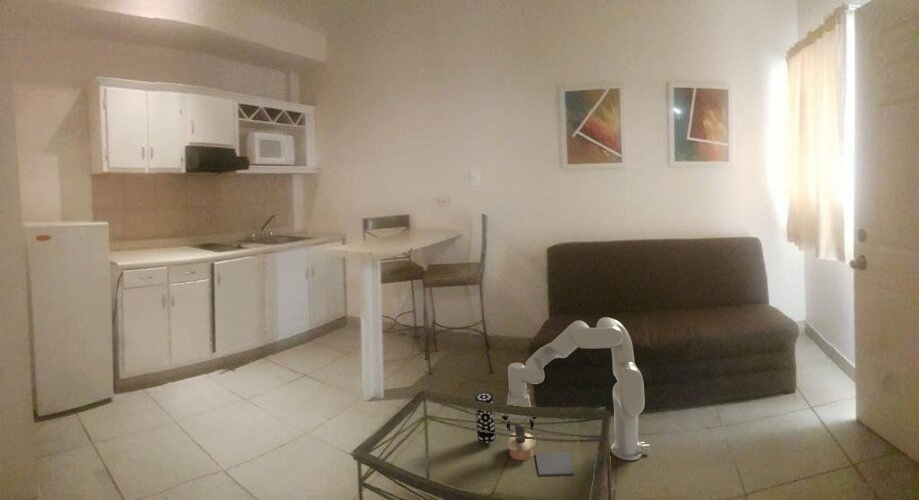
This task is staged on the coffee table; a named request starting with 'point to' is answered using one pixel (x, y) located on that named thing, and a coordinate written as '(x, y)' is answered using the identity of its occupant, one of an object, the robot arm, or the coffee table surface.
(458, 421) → the coffee table surface
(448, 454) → the coffee table surface
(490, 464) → the coffee table surface
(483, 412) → the white-spotted black cylinder
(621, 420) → the robot arm
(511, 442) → the lid
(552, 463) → the mat
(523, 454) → the bowl
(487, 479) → the coffee table surface
